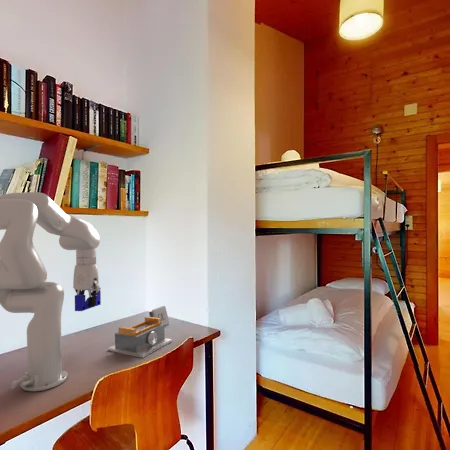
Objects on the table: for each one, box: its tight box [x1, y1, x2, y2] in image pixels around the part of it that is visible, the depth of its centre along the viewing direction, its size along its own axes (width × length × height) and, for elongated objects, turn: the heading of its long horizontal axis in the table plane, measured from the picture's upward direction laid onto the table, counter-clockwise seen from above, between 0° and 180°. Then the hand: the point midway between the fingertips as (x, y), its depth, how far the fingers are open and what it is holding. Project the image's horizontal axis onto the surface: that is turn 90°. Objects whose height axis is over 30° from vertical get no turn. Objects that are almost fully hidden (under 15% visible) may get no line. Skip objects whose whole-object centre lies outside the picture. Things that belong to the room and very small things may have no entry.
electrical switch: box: [148, 305, 170, 327], centre depth 155 cm, size 9×5×9 cm, turn 152°
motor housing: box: [107, 316, 173, 359], centre depth 128 cm, size 18×18×10 cm
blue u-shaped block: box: [74, 289, 102, 312], centre depth 128 cm, size 12×4×6 cm, turn 167°
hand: (86, 305), depth 128 cm, fingers closed on blue u-shaped block, 5 cm apart
